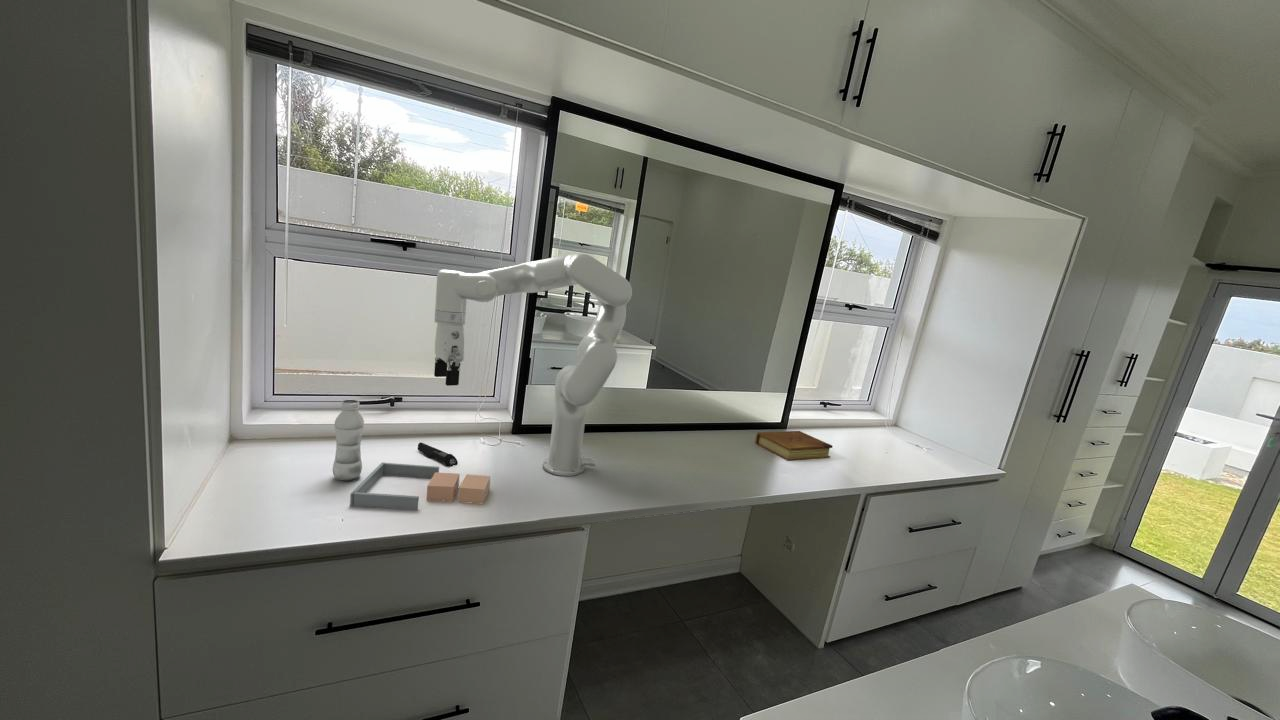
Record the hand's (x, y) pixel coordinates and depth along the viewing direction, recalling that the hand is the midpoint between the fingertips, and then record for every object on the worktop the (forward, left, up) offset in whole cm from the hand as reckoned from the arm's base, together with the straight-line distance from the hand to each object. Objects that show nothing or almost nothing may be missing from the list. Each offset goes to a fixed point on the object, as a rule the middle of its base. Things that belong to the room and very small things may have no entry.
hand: (446, 380), depth 131 cm
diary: (-125, -44, -26) cm, 135 cm away
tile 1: (-5, +14, -26) cm, 30 cm away
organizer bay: (+6, +14, -25) cm, 30 cm away
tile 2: (-12, +14, -26) cm, 32 cm away
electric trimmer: (+3, -8, -26) cm, 27 cm away
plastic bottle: (+20, +9, -26) cm, 34 cm away
